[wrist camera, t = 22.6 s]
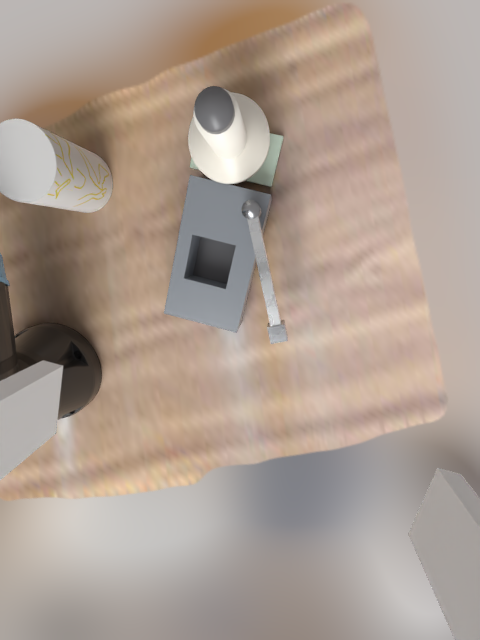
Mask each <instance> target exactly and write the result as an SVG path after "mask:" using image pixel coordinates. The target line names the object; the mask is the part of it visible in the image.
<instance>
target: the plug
mask: <svg viewBox="0 0 480 640" xmlns="http://www.w3.org/2000/svg"><path fill="white" fill-rule="evenodd" d="M188 145H189V150H190V154H191V157H192V159H193V161H194V163H195V164H196V166H197V167H198V169H199V170H200V171H201V172H202V173H203V174H204V175H206V176H207V177H208V178H210V179H211V180H213V181H215V182H218V183H222V184H237V183H240V182H243V181H245V180H247V179H249V178H251V177H252V176H253V175H254V174H255V173H256V172H257V171H258V170H259V169H260V168H261V167H262V165H263V163H264V162H265V159H266V157H267V154H268V151H269V146H270V132H269V126H268V122H267V119H266V117H265V114H264V113H263V111H262V109H261V108H260V107H259V106H258V104H257V103H255V102H254V101H253V100H252V99H250V98H249V97H247V96H245V95H242V94H239V93H233V92H229V91H228V90H226V89H223V88H221V87H217V86H211V87H208V88H206V89H204V90H203V91H202V92H201V93H200V94H199V95H198V97H197V99H196V101H195V106H194V112H193V118H192V121H191V123H190V127H189V133H188Z"/></svg>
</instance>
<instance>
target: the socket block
mask: <svg viewBox="0 0 480 640" xmlns="http://www.w3.org/2000/svg"><path fill="white" fill-rule="evenodd" d="M247 200H254V201H256V202H257V203H258V204H259V206H260V208H261V210H262V215H261V217H260V219H259V220H260V225H261V230H262V234H264V230H265V226H266V222H267V218H268V214H269V210H270V206H271V202H272V197H271V194H267V193H263V192H259V191H255V190H250V189H246V188H242V187H238V186H234V185H230V184H222V183H218V182H215V181H213V180H209V179H204V178H200V177H196V176H192V175H190V178H189V183H188V188H187V194H186V199H185V204H184V210H183V215H182V220H181V226H180V231H179V236H178V242H177V247H176V252H175V257H174V263H173V268H172V273H171V279H170V284H169V289H168V295H167V300H166V305H165V311H164V313H165V314H168V315H172V316H176V317H180V318H183V319H187V320H191V321H195V322H198V323H202V324H206V325H210V326H213V327H217V328H221V329H225V330H228V331H232V332H236V333H237V331H238V329H239V327H240V325H241V322H242V318H243V314H244V310H245V306H246V302H247V298H248V294H249V290H250V286H251V282H252V278H253V274H254V270H255V266H256V257H255V253H254V248H253V244H252V239H251V234H250V230H249V225H248V221H247V218H245V217H244V216H243V214H242V211H241V208H242V205H243V203H244V202H246V201H247Z"/></svg>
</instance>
